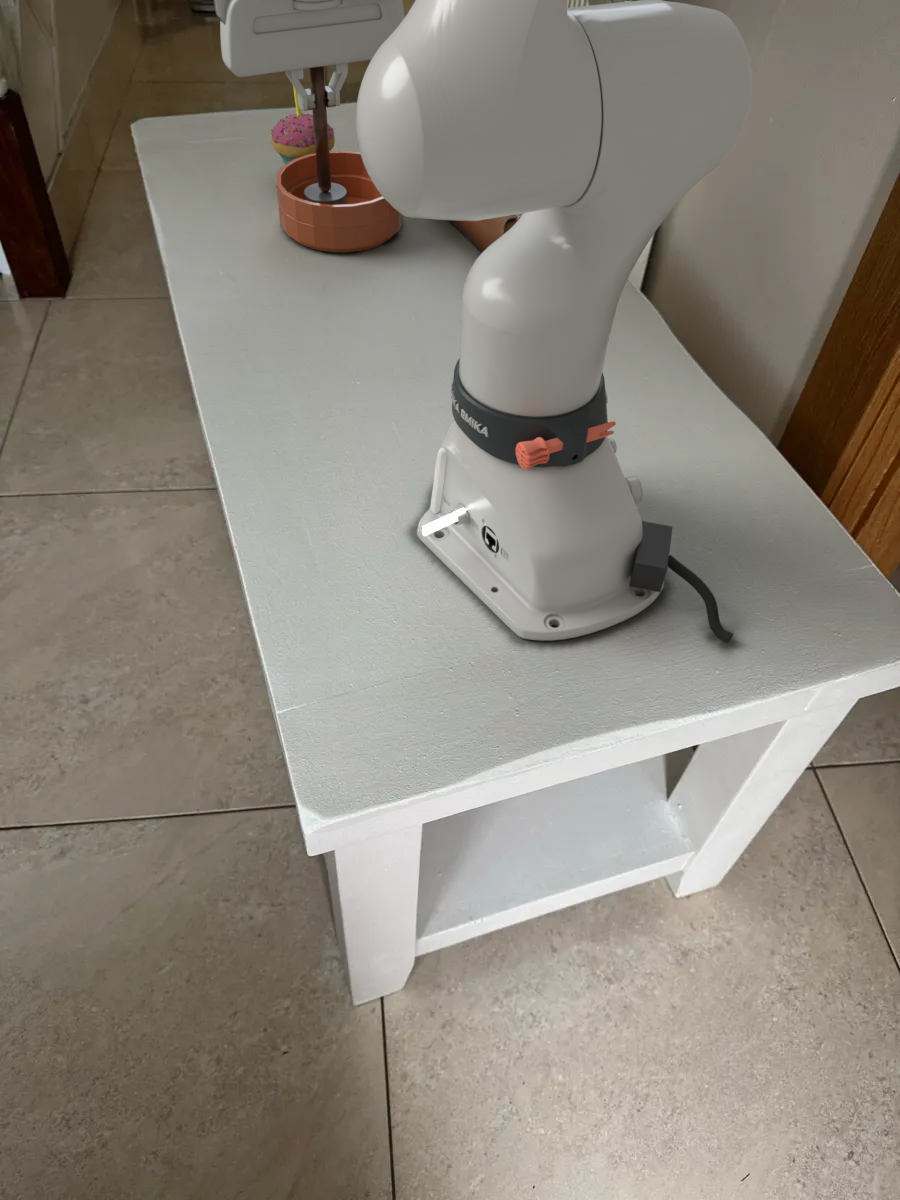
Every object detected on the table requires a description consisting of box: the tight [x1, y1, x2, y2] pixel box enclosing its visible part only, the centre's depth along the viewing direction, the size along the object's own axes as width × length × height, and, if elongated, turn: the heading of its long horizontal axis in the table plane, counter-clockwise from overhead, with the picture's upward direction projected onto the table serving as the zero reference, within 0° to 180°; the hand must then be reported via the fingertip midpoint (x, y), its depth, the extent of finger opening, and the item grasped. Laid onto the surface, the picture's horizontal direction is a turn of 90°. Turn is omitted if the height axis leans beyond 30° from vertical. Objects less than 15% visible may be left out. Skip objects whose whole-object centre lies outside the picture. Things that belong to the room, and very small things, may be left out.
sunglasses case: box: [449, 214, 519, 254], centre depth 115 cm, size 18×7×7 cm
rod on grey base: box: [304, 66, 348, 205], centre depth 108 cm, size 5×5×18 cm
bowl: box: [275, 150, 404, 253], centre depth 115 cm, size 15×15×6 cm
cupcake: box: [270, 85, 336, 166], centre depth 122 cm, size 9×8×12 cm
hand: (319, 107), depth 106 cm, fingers closed on rod on grey base
